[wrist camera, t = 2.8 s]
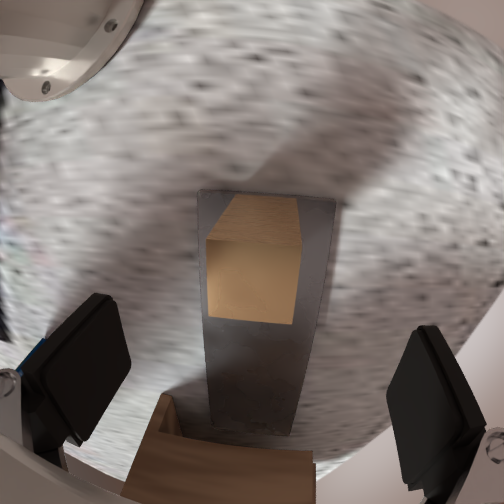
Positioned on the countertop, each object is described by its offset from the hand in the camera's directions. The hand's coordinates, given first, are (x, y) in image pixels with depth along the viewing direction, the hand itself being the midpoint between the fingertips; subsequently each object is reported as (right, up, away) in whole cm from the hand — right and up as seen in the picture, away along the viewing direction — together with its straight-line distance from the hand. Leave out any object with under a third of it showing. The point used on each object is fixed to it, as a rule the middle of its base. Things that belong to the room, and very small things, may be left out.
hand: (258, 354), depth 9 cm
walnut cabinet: (-2, -16, +17) cm, 24 cm away
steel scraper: (0, -3, +11) cm, 12 cm away
